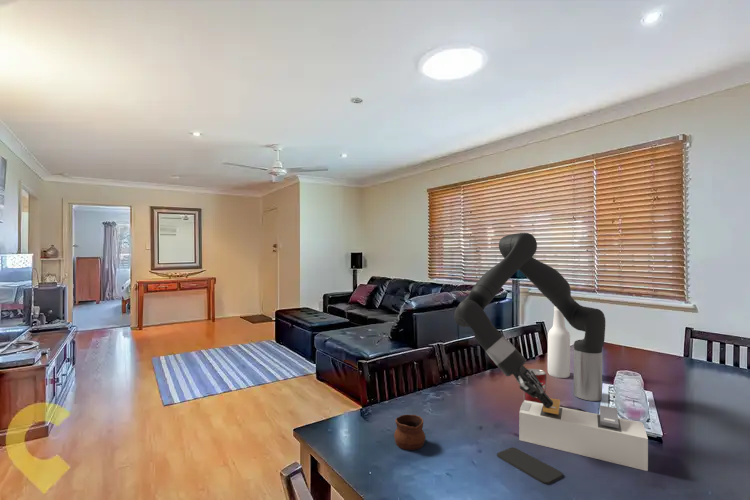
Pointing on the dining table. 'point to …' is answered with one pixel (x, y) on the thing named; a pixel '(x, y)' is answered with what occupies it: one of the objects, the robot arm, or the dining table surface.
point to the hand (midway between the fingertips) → (550, 405)
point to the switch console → (584, 435)
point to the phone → (530, 465)
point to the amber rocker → (553, 407)
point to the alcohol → (558, 347)
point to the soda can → (542, 379)
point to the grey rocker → (609, 416)
